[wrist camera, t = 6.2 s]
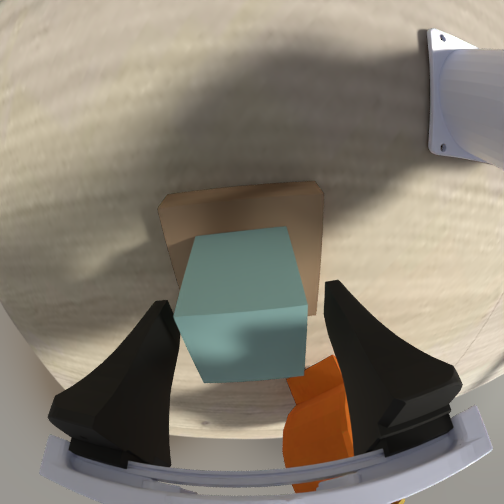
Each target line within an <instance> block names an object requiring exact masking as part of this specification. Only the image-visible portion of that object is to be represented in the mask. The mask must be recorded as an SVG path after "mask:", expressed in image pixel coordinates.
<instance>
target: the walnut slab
mask: <svg viewBox="0 0 504 504" xmlns="http://www.w3.org/2000/svg"><path fill="white" fill-rule="evenodd" d="M323 209H324V193H323V192H322V190H321V189H320V188H319V186H318V185H317V184H316V182H315V181H304V182H286V183H271V184H257V185H246V186H235V187H224V188H215V189H206V190H197V191H189V192H181V193H174V194H167V196H166V197H165V199H164V200H163V201H162V203H161V204H160V206H159V207H158V213H159V217H160V221H161V225H162V229H163V233H164V237H165V241H166V244H167V248H168V252H169V255H170V259H171V262H172V266H173V269H174V273H175V276H176V280H177V283H178V286H179V289H181V285H182V282H183V278H184V274H185V271H186V267H187V264H188V260H189V257H190V253H191V250H192V247H193V243H194V240H195V237H196V236H202V235H210V234H219V233H227V232H236V231H245V230H254V229H264V228H273V227H283V226H286V227H287V230H288V234H289V237H290V241H291V244H292V248H293V251H294V255H295V259H296V262H297V266H298V270H299V273H300V277H301V281H302V284H303V288H304V292H305V296H306V300H307V304H308V314H307V316H312V315H316V311H317V301H318V290H319V278H320V265H321V250H322V232H323Z"/></svg>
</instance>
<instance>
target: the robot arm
mask: <svg viewBox="0 0 504 504" xmlns="http://www.w3.org/2000/svg"><path fill="white" fill-rule="evenodd" d="M440 36H441V37H442V41H441V39H440ZM427 39H428V49H429V63H430V127H429V142H428V148H429V150H430V152H431V153H433V154H436V155H443V156H450V157H456V158H463V159H469V160H474V161H480V162H485V163H490V164H493V165H494V166H496V167H498V168H500V169H502V170H504V50H500V49H479V48H477V47H475V46H473V45H471V44H469V43H467V42H465V41H463V40H461V39H459V38H457V37H454V36H452V35H450V34H448V33H445V32H443V31H440V30H438V29H435V28H431V29H428V31H427ZM442 144H443V148H442V149H440V147H441V145H442ZM173 316H174V314H173V312H172V309H171V307H170V305H169V303H168V300H162V301H155V303H154V304H153V305H152V306H151V307H150V309H149V310H148V311H147V312H146V314H145V315H144V316H143V318H142V319H141V320H140V321H139V323H138V324H137V325H136V326H135V328H134V329H133V330H132V331H131V333H130V334H129V335H128V336H127V337H126V338H125V340H124V341H123V342H122V343H121V344H120V345H119V347H118V348H117V349H116V350H115V351H114V352H113V353H112V354H111V355H110V356H109V357H108V358H107V359H106V360H105V361H104V362H103V363H102V364H100V365H99V366H98V367H97V368H96V369H94V370H93V371H92V372H91V373H90V374H88V375H87V376H86V377H84V378H83V379H82V380H80V381H79V382H77V383H76V384H75V385H73V386H71V387H70V388H68V389H66V390H65V391H63V392H61V393H60V394H58V395H56V396H55V398H54V400H53V403H52V406H51V409H50V412H49V414H48V419H49V421H50V422H51V423H52V424H53V425H55V426H56V427H57V428H59V429H60V430H62V431H63V432H64V433H66V434H67V435H69V436H70V437H72V438H71V442H69V441H67V440H64V439H62V438H60V437H57V436H54V435H52V434H50V435H49V437H48V441H47V444H46V448H45V452H44V455H43V459H42V463H41V467H40V472H39V473H40V475H42V476H43V477H45V478H47V479H49V480H51V481H53V482H55V483H57V484H59V485H61V486H63V487H65V488H67V489H69V490H72V491H74V492H76V493H78V494H81V495H83V496H86V497H88V498H90V499H92V500H95V501H98V502H100V503H103V504H391V503H393V502H396V501H399V500H401V499H404V498H406V497H408V496H411V495H413V494H416V493H418V492H420V491H422V490H424V489H427V488H429V487H431V486H433V485H435V484H437V483H438V482H441V481H443V480H445V479H446V478H448V477H450V476H452V475H454V474H455V473H457V472H459V471H461V470H462V469H464V468H466V467H467V466H469V465H471V464H472V463H474V462H476V461H477V460H479V459H480V458H482V457H483V456H485V455H486V454H488V453H489V452H491V451H492V449H493V447H492V445H491V441H490V438H489V436H488V433H487V430H486V427H485V425H484V422H483V420H482V417H481V415H480V412H479V410H478V407H477V405H474V406H472V407H470V408H468V409H466V410H464V411H463V412H460V413H459V414H457V415H455V416H454V417H452V418H450V416H449V413H450V412H451V408H450V405H449V403H450V402H451V401H452V400H453V399H454V398H455V396H456V395H457V394H458V393H459V392H460V390H461V388H462V385H463V384H462V382H461V380H460V377H459V375H458V373H457V371H456V370H455V368H454V366H453V365H450V364H448V363H446V362H443V361H441V360H438V359H436V358H434V357H432V356H430V355H428V354H426V353H424V352H422V351H420V350H419V349H417V348H415V347H414V346H412V345H410V344H409V343H407V342H406V341H404V340H403V339H401V338H400V337H398V336H397V335H395V334H394V333H393V332H392V331H390V330H389V329H388V328H386V327H385V326H384V325H383V324H382V323H381V322H379V321H378V320H377V319H376V318H375V317H374V316H373V315H372V314H371V313H370V312H369V311H368V310H367V309H366V308H365V307H364V306H363V305H361V304H360V302H359V301H358V300H357V299H356V298H355V297H354V296H353V295H352V294H351V293H350V292H349V291H348V290H347V288H346V287H345V286H344V285H343V284H342V283H341V282H340V281H339V280H334V281H327V282H325V298H324V318H325V323H326V327H327V332H328V335H329V338H330V341H331V344H332V347H333V350H334V353H335V356H336V359H337V362H338V365H339V368H340V371H341V374H342V378H343V382H344V387H345V392H346V397H347V403H348V409H349V415H350V422H351V430H352V439H353V450H354V456H353V457H349V458H345V459H340V460H335V461H330V462H325V463H320V464H314V465H307V466H300V467H292V468H283V469H272V470H257V471H205V470H190V469H179V468H170V466H171V458H170V446H169V406H170V393H171V386H172V381H173V376H174V371H175V366H176V362H177V357H178V352H179V344H180V331H179V329H178V327H177V324H176V322H175V320H174V317H173ZM340 476H341V477H340ZM335 477H337V478H335ZM330 478H334V479H330ZM325 479H330V480H326V481H323V482H320V483H319V484H318V485H319V487H317V488H316V491H312V492H304V493H294V494H281V495H263V496H219V495H199V494H197V493H196V492H193V491H189V490H185V489H183V488H181V487H179V486H175V485H170V484H165V483H160V482H158V481H161V482H167V483H174V484H182V485H192V486H206V487H233V488H236V487H237V488H240V487H268V486H281V485H291V484H299V483H306V482H313V481H319V480H325Z"/></svg>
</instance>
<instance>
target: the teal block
mask: <svg viewBox="0 0 504 504" xmlns="http://www.w3.org/2000/svg"><path fill="white" fill-rule="evenodd" d="M307 314H308V304H307V300H306V296H305V292H304V288H303V284H302V281H301V277H300V273H299V270H298V266H297V262H296V259H295V255H294V251H293V248H292V244H291V241H290V237H289V234H288V230H287V227H286V226H283V227H273V228H264V229H254V230H245V231H236V232H227V233H219V234H210V235H202V236H196V237H195V240H194V243H193V247H192V250H191V253H190V257H189V260H188V264H187V267H186V271H185V274H184V278H183V282H182V285H181V289H180V293H179V296H178V300H177V304H176V308H175V312H174V316H173V317H174V320H175V322H176V324H177V327H178V329H179V331H180V333H181V336H182V338H183V340H184V342H185V345H186V347H187V349H188V351H189V353H190V355H191V357H192V360H193V362H194V364H195V366H196V368H197V370H198V372H199V374H200V376H201V378H202V380H203V382H204V383H227V382H246V381H259V380H271V379H280V378H289V377H297V376H304V368H305V353H306V336H307Z"/></svg>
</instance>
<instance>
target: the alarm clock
mask: <svg viewBox="0 0 504 504" xmlns="http://www.w3.org/2000/svg"><path fill="white" fill-rule="evenodd" d="M286 380H287V382H288V385H289V388H290V390H291V393H292V395H293V398H294V400H295V403H296V406H295V407H294V408H293V410H292V411H291V412H290V413H289V414H288V417H287V420H286V424H285V427H284V430H283V457H284V462H285V466H286V468H292V467H300V466H307V465H314V464H320V463H325V462H330V461H335V460H340V459H345V458H349V457H353V456H354V450H353V439H352V430H351V422H350V415H349V409H348V403H347V397H346V392H345V387H344V382H343V378H342V374H341V371H340V368H339V365H338V362H337V359H336V357H335V356H333V355H331V356H329V357H328V358H326V359H324V360H322V361H321V362H319V363H317V364H315V365H313V366H311V367H310V368H308V369H306V370H304V376H297V377H290V378H288V379H286ZM340 477H341V476H340ZM335 478H337V477H335ZM330 479H334V478H330ZM330 479H325V480H319V481H313V482H306V483H299V484H292V486H293V488H294V491H295V493H304V492H312V491H316V488H317V487H319V485H318V484H319V483H320V482H323V481H326V480H330ZM404 502H405V498H404V499H401V500H399V501H396V502H393V503H391V504H404Z"/></svg>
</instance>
